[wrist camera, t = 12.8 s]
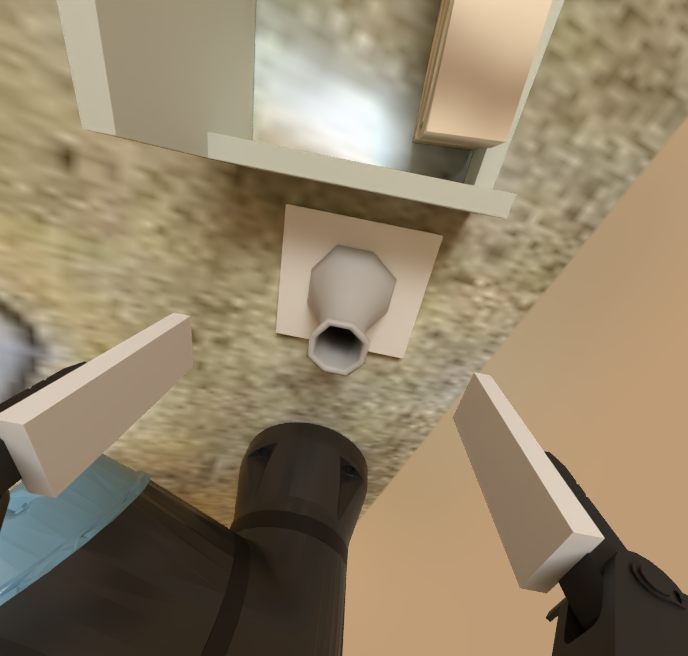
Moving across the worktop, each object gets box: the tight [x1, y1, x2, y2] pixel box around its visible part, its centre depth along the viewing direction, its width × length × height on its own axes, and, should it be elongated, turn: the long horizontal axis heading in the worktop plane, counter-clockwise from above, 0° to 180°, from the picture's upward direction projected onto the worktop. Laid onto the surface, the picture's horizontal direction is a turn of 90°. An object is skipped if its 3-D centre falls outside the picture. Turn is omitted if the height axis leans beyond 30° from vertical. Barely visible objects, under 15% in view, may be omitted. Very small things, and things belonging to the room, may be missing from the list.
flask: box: [307, 244, 397, 376], centre depth 18 cm, size 7×7×10 cm
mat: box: [276, 204, 443, 358], centre depth 23 cm, size 11×12×1 cm
